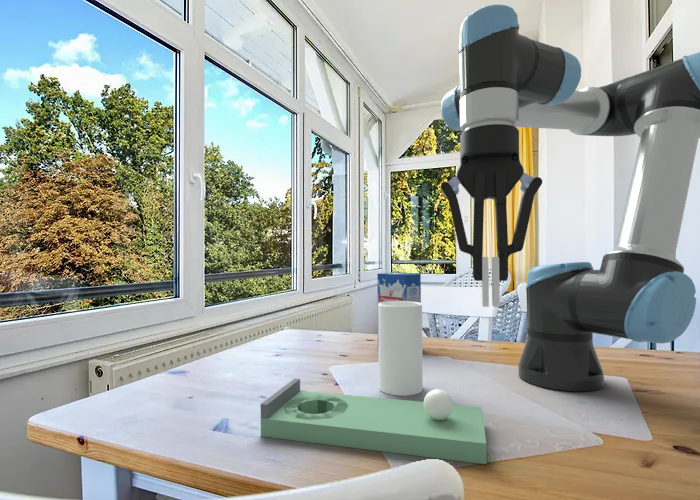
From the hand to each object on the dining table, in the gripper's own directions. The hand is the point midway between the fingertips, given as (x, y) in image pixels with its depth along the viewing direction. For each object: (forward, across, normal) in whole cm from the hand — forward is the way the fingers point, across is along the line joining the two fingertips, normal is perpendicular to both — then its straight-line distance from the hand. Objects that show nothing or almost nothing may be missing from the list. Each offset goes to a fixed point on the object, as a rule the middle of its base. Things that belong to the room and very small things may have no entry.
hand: (490, 305), depth 55 cm
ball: (+14, +7, 0) cm, 16 cm away
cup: (+19, +15, -19) cm, 31 cm away
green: (+18, +16, 0) cm, 24 cm away
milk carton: (+19, +20, -51) cm, 58 cm away
